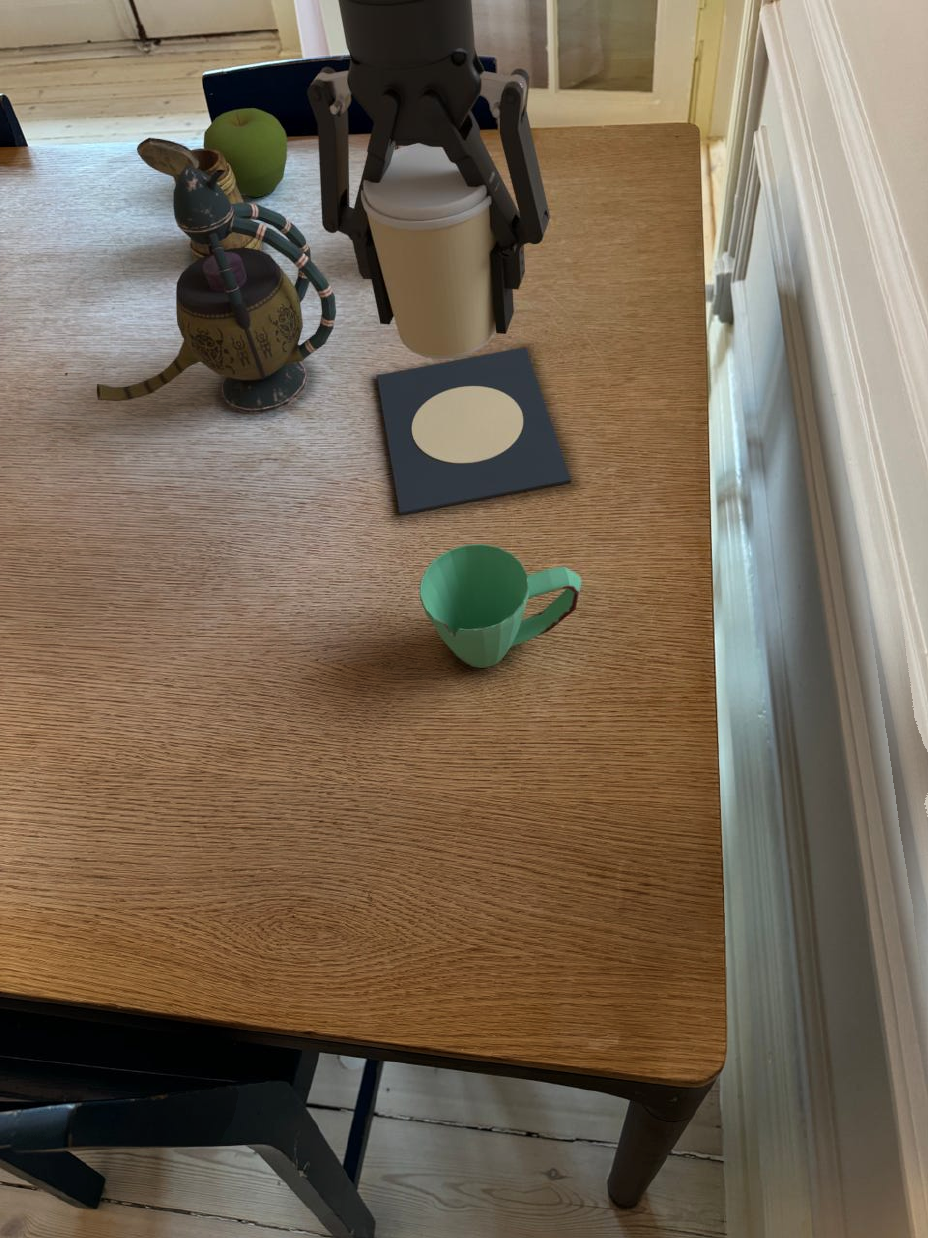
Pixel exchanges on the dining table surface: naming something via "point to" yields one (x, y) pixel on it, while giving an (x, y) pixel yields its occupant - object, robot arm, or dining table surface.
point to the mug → (491, 601)
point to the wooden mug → (208, 160)
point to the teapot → (240, 302)
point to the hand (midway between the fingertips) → (446, 317)
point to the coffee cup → (434, 252)
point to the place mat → (468, 431)
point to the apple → (250, 148)
